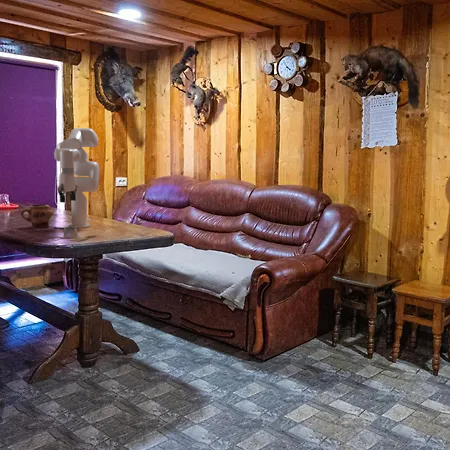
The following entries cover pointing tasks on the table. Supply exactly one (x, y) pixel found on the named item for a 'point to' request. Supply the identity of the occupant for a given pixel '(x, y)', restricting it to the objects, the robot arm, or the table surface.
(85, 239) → the spatula
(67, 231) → the saucepan
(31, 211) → the brown ceramic pot
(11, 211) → the table surface
